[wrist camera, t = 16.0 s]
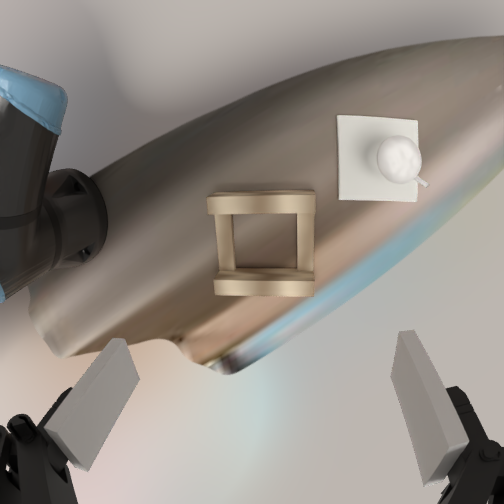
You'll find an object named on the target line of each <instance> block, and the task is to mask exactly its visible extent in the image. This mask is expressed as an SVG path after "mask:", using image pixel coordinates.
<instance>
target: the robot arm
mask: <svg viewBox="0 0 504 504" xmlns="http://www.w3.org/2000/svg"><path fill="white" fill-rule="evenodd" d="M67 100H68V99H67V94H66V93H65V91H64V89H63V88H61V87H60V86H58V85H56V84H54V83H52V82H49V81H46V80H44V79H41V78H39V77H36V76H33V75H30V74H28V73H25V72H22V71H19V70H16V69H13V68H10V67H7V66H3V65H0V303H3V302H4V301H5V300H6V299H7V298H9V297H10V296H12V295H13V294H15V293H16V292H18V291H19V290H21V289H22V288H23V287H25V286H27V285H28V284H30V283H31V282H33V281H34V280H36V279H37V278H39V277H40V276H42V275H44V274H45V273H47V272H48V271H50V270H52V269H59V268H69V267H77V266H80V265H82V264H84V263H86V262H88V261H89V260H91V259H92V258H94V257H95V256H96V255H97V254H98V253H99V251H100V250H101V248H102V246H103V244H104V241H105V238H106V233H107V213H106V208H105V204H104V201H103V198H102V196H101V194H100V192H99V190H98V188H97V186H96V185H95V184H94V182H93V181H92V180H91V179H90V178H89V177H88V176H87V175H85V174H84V173H82V172H80V171H78V170H75V169H61V170H56V171H53V172H50V173H49V169H50V165H51V161H52V158H53V154H54V150H55V147H56V143H57V140H58V137H59V135H61V125H62V121H63V117H64V114H65V110H66V107H67ZM391 379H392V382H393V385H394V388H395V390H396V394H397V397H398V400H399V403H400V405H401V409H402V412H403V415H404V418H405V421H406V424H407V428H408V431H409V434H410V437H411V441H412V444H413V448H414V451H415V455H416V459H417V462H418V466H419V470H420V473H421V476H422V481H423V485H424V487H425V486H429V485H433V484H437V483H440V482H442V481H443V480H444V479H445V477H446V476H447V475H448V478H449V481H450V483H449V484H448V485H447V486H446V488H445V489H444V490H443V492H442V493H441V494H443V495H442V496H441V498H440V500H439V502H438V504H487V501H488V504H504V447H501V446H500V445H499V443H497V442H495V441H493V440H489V439H488V437H487V435H486V433H485V431H484V429H483V427H482V425H481V423H480V421H479V419H478V417H477V415H476V413H475V412H474V409H473V407H472V405H471V404H470V401H469V399H468V398H467V395H466V394H465V393H464V392H463V391H462V390H461V389H459V387H457V386H454V387H450V388H446V389H445V387H444V385H443V383H442V381H441V379H440V377H439V375H438V373H437V371H436V369H435V368H434V366H433V364H432V362H431V360H430V358H429V356H428V355H427V353H426V351H425V349H424V347H423V345H422V343H421V341H420V340H419V338H418V336H417V334H416V333H415V331H414V330H409V331H401V332H399V334H398V341H397V346H396V352H395V357H394V363H393V367H392V372H391ZM139 380H140V378H139V376H138V373H137V371H136V368H135V365H134V363H133V360H132V357H131V355H130V352H129V349H128V347H127V344H126V341H125V339H121V338H112V339H111V340H110V342H109V343H108V344H107V345H106V347H105V348H104V349H103V350H102V352H101V353H100V354H99V355H98V357H97V358H96V359H95V360H94V362H93V363H92V364H91V366H90V367H89V368H88V369H87V371H86V372H85V374H83V376H82V377H81V378H80V380H79V381H78V382H77V384H76V385H75V386H74V387H73V388H72V387H70V388H68V389H67V390H66V391H64V392H63V393H62V394H61V395H60V397H59V398H58V399H57V402H55V403H54V404H53V406H52V408H50V410H49V411H48V412H47V414H46V415H45V416H44V417H43V419H42V420H41V422H40V423H39V424H38V426H37V427H36V426H35V424H34V423H33V421H32V420H31V418H30V417H29V416H28V415H26V414H18V415H16V416H14V417H12V418H11V419H10V420H9V422H8V424H7V428H8V430H9V431H10V432H11V433H9V432H8V431H7V430H6V429H5V427H3V426H1V425H0V504H78V502H77V498H76V495H75V491H74V487H73V484H72V480H71V476H70V472H69V468H68V466H67V465H66V463H67V461H68V460H69V461H70V462H71V463H72V464H73V465H74V467H76V468H78V469H81V470H84V471H87V472H88V471H89V470H90V468H91V466H92V464H93V462H94V460H95V458H96V457H97V455H98V453H99V451H100V449H101V447H102V446H103V444H104V442H105V440H106V438H107V436H108V435H109V433H110V431H111V429H112V427H113V426H114V424H115V422H116V420H117V419H118V417H119V415H120V413H121V412H122V410H123V408H124V406H125V405H126V403H127V401H128V399H129V398H130V396H131V394H132V392H133V390H134V389H135V387H136V385H137V384H138V382H139ZM6 465H8V466H9V467H10V468H9V471H7V470H6ZM488 499H489V500H488Z"/></svg>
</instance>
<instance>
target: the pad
mask: <svg viewBox="0 0 504 504" xmlns="http://www.w3.org/2000/svg"><path fill="white" fill-rule="evenodd" d="M397 135H401V136H405V137H407V138H409V139H411V140H412V141H413V142H414V143H415V144H416V146H417V147H418V121H415V120H406V119H395V118H383V117H368V116H348V115H337V141H338V199H339V200H375V201H406V202H417V192H418V182H417V181H416V180H414V179H413V180H412V181H410V182H408V183H405V184H398V183H393V182H391V181H389V180H387V179H386V178H385V177H384V176H383V175H381V174H380V173H378V172H377V171H375V170H374V169H373V168H372V167H371V166H370V165H369V164H368V163H367V160H366V152H367V150H368V148H369V146H371V145H373V144H375V143H377V142H380V141H383V140H385V139H387V138H389V137H391V136H397ZM417 176H418V174H417Z"/></svg>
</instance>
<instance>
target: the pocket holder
mask: <svg viewBox="0 0 504 504" xmlns="http://www.w3.org/2000/svg"><path fill="white" fill-rule="evenodd" d="M206 200H207V213H208V215H215V225H216V237H217V250H218V261H219V272H218V274H217V275H216V277H215V279H214V289H215V295H236V296H299V297H314V273H313V265H314V213H315V193H314V190H274V191H236V192H215V193H213V194H211V195H210V196H208V197H206ZM269 213H297V246H298V260H297V268H236V262H235V247H234V231H233V216H232V214H269Z"/></svg>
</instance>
